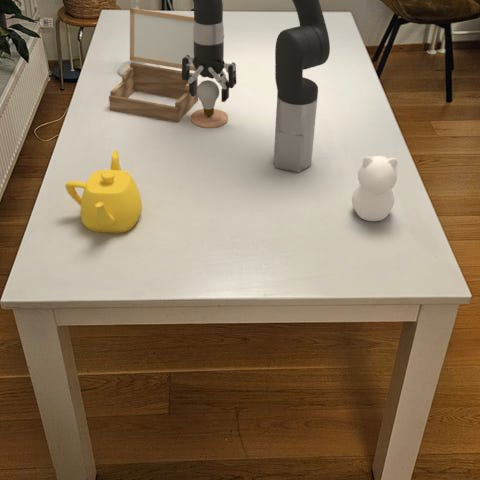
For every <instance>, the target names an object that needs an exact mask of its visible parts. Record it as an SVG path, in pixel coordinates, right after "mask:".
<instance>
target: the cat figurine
mask: <svg viewBox="0 0 480 480" xmlns="http://www.w3.org/2000/svg"><path fill="white" fill-rule="evenodd" d="M397 166H398V158H397V157H389V158H388V157H387V156H384V155H375V156H365V157H364V158H363V159H362V164H360V167H359V169H358V172H357V178H358V179H357V180H358V184H357V185H356V186H355V188H354V190H353V193H352V196H351V203H352V207H353V209H354V211H355V212H356V214H357V215H358V217H359V218H361V219H363V220H364V221H368V222H379V221H380V222H381V221H383V220H385V219H386V217H388V216H389V214H390V212H391V211H392V209H393V207H394V204H395V193H394V190H393V189H394V187H395V185H396V183H397V180H398V170H397Z"/></svg>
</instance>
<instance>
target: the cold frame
mask: <svg viewBox="0 0 480 480" xmlns="http://www.w3.org/2000/svg"><path fill="white" fill-rule="evenodd" d="M193 74H194V72H190V75H193ZM198 79H199V78H198V77H197V78H196V79H195V81H197V88H198V86H199V84H198ZM135 92H139V93H142V94H149V95H154V96H159V97H165V98H171V99H176V100H177V101H175V102H174V106H173V105H167V104H162V103H157V102H151V101H147V100H141V99H135V98H129V97H130V96H131V95H133V93H135ZM198 101H199V98H198V96H197V94H196V95H195V96H194V97H193V96H191V94H190V93H189V82H188V81H187V80H183V79H182V70H176V69H172V68H171V69H170V68H163V67H161V66H160V67H154V66H148V65H142V64H136V63H130V68H129V69H128V70H126V71H125V72H124V73H123V74H122V77H121V81H120V83H118V84H117V85H116V86H115V87H114V88H112V89H111V90H110V95H108V102H109V110H111V111H113V112H118V113H125V114H131V115H135V116H140V117H145V118H146V117H147V118H151V119H156V120H161V121H166V122H172V123H179V122H180V120H181V119H182V118H183V117H184V116H185V115H186V114H187V113H189V111H190V110H191V109H192V108H193V107H194V106H195V105H196V104H197V102H198ZM194 104H195V105H194ZM193 105H194V106H193ZM192 106H193V107H192ZM191 107H192V108H191Z"/></svg>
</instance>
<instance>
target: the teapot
mask: <svg viewBox="0 0 480 480" xmlns="http://www.w3.org/2000/svg"><path fill="white" fill-rule="evenodd" d="M119 154H120V153H119V151H118V150H117V149H116V150H114V151H113V152H112V154H111V162H110V169H102V170H101V169H100V170H96V171H94V172H93V173H92V174H90V176H89V177H88V180H87V181H86V182H84V181H79V180H69V181H67V182H66V183H65V190H66V192H67V194H68V195H69V196H70V197H71V198H72V199H73V200H74V201H75V202H76V203H77V204H78V205H79V206H80V217H81V221H82V224H83V225H84V227H86V229H88V231H90V230H91V232H93V231H94V232H93V233H101V232H102V233H103V234H104V233H105V234H120V233H125V232H129V231H130V230H132V229H133V227H134V226H135V225H136V223H137V222H138V220H139V218H140V216H141V214H142V208H143V203H142V198H141V194H140V191H139V188H138V186H137V184H136V182H135V179H133V176H132V175H131V174H130V172H129V171H126V170H122V169H121V165H120V160H119V159H120V158H119V156H120V155H119ZM76 188H80V189H83V191H82V196H81V195H79V193H78V192H77V190H76Z"/></svg>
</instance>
